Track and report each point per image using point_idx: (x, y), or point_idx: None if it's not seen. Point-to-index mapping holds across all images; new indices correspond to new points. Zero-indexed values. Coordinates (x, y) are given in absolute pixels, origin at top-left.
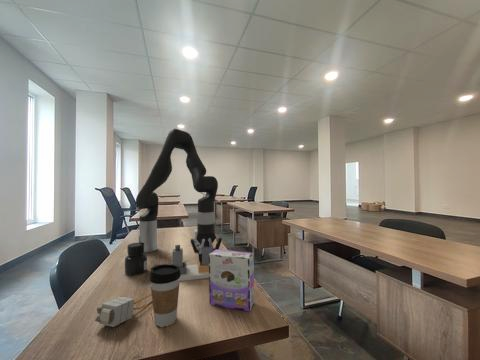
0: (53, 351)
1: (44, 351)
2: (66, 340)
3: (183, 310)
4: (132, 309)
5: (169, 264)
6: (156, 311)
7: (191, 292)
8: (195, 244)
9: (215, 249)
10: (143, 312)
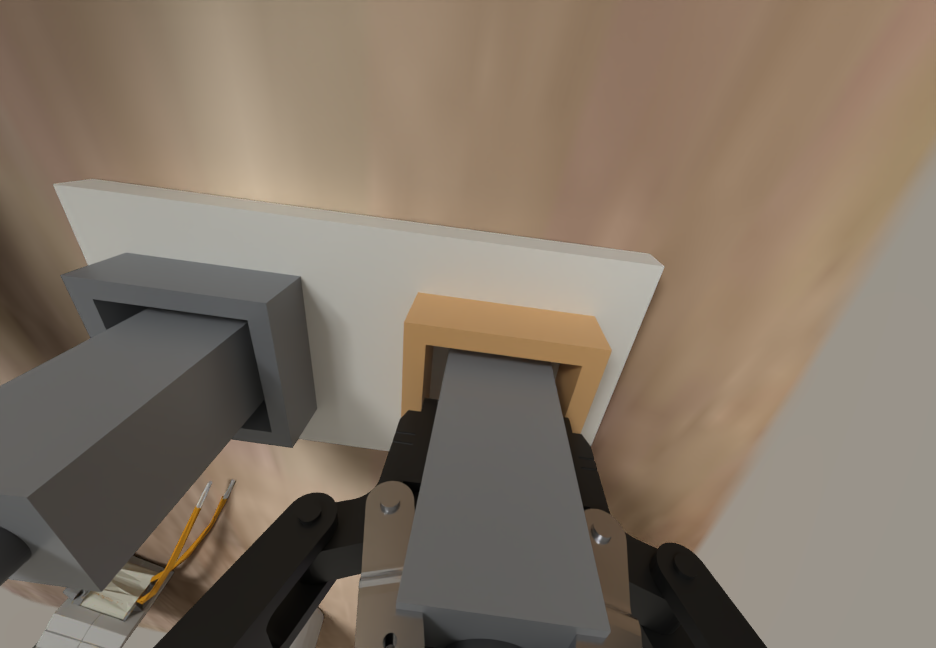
0: (59, 603)
1: (36, 598)
2: (53, 588)
3: (341, 597)
4: (154, 599)
5: (80, 313)
6: None
7: None
8: None
9: (633, 607)
10: (202, 567)
